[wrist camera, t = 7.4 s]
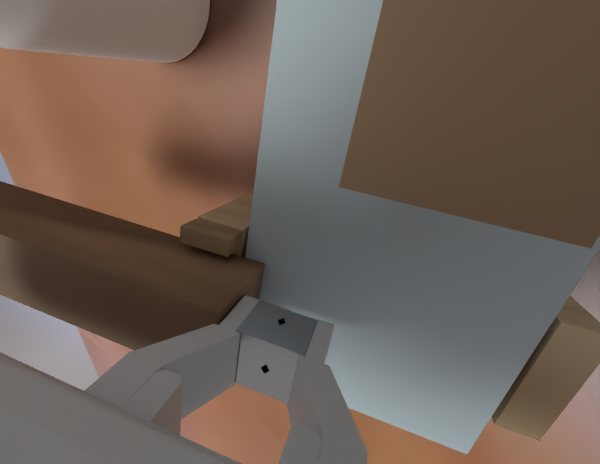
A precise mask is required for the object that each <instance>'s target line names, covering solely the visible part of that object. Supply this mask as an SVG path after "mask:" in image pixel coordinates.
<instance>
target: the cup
mask: <svg viewBox="0 0 600 464" xmlns="http://www.w3.org/2000/svg"><path fill="white" fill-rule="evenodd" d="M209 10H210V0H0V47H1V48H9V49H18V50H29V51H39V52H50V53H61V54H72V55H83V56H94V57H105V58H116V59H128V60H139V61H150V62H161V63H171V62H176V61H179V60H181V59H183V58H185V57H186V56H188V55H189V54H190V53H191V52H192V51H193V50H194V49H195V48H196V47H197V45H198V44H199V42H200V40H201V39H202V37H203V34H204V32H205V29H206V26H207V22H208V17H209Z"/></svg>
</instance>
